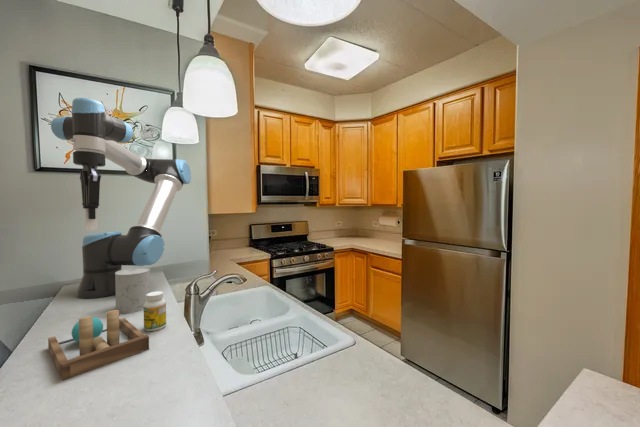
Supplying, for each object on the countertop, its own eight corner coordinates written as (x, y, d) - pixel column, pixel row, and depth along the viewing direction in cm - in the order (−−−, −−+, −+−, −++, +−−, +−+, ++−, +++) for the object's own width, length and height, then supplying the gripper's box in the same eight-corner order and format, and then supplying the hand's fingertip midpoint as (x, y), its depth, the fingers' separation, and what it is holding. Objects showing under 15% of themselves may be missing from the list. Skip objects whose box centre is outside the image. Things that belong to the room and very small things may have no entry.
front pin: (90, 338, 65) (100, 351, 60) (103, 335, 67) (113, 346, 62) (90, 348, 65) (100, 361, 60) (103, 344, 67) (113, 357, 62)
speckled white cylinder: (156, 303, 95) (156, 268, 94) (135, 314, 85) (135, 275, 85) (131, 302, 96) (130, 267, 95) (107, 312, 86) (107, 274, 86)
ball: (71, 331, 63) (75, 352, 65) (103, 320, 68) (107, 340, 69) (67, 318, 67) (72, 339, 69) (98, 308, 71) (101, 328, 73)
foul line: (54, 344, 67) (54, 343, 67) (117, 326, 77) (117, 325, 77) (54, 345, 66) (54, 344, 66) (118, 327, 76) (118, 326, 76)
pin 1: (78, 355, 62) (77, 318, 62) (92, 351, 64) (91, 315, 64) (80, 359, 60) (80, 321, 60) (94, 354, 62) (93, 318, 62)
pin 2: (105, 346, 66) (105, 312, 66) (117, 342, 68) (117, 309, 67) (108, 350, 64) (108, 314, 64) (120, 346, 66) (120, 311, 66)
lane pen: (48, 348, 65) (48, 336, 65) (124, 326, 77) (124, 316, 76) (62, 380, 53) (61, 365, 53) (149, 348, 65) (148, 336, 65)
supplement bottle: (170, 324, 78) (170, 291, 78) (155, 332, 73) (155, 297, 73) (154, 322, 80) (154, 289, 79) (138, 330, 74) (138, 295, 74)
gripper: (68, 152, 84) (70, 229, 85) (77, 147, 76) (79, 232, 77) (99, 156, 90) (100, 227, 91) (111, 151, 82) (112, 230, 82)
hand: (91, 229), depth 84 cm, fingers closed
